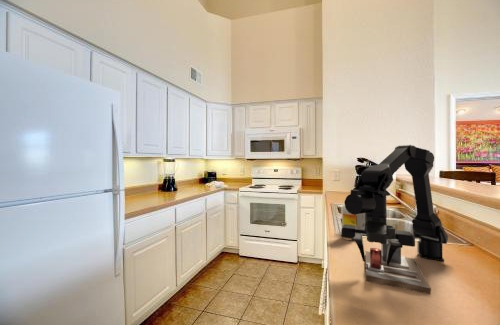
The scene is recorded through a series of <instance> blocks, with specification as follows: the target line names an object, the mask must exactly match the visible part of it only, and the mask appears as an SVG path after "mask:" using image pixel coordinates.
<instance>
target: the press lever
mask: <svg viewBox="0 0 500 325" xmlns="http://www.w3.org/2000/svg"><path fill="white" fill-rule="evenodd" d="M369 252H370V263H368V270H369V271H374V272H380V273H384V268H383V265H381V249H380V248H377V247H370V248H369Z"/></svg>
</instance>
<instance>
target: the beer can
mask: <svg viewBox="0 0 500 325" xmlns="http://www.w3.org/2000/svg"><path fill="white" fill-rule="evenodd" d="M344 224H347V225H356V215H354V214H351V213H349V212H348V211H347V209H346V208H345V204H343V205H342V207H341V227H342V226H343V225H344ZM342 239H343V240H345V241H349V240H351V238H345V237H342Z"/></svg>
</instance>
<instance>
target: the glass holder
mask: <svg viewBox="0 0 500 325" xmlns="http://www.w3.org/2000/svg"><path fill="white" fill-rule="evenodd" d="M356 229H363V230H365V213H362V214H356Z"/></svg>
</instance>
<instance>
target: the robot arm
mask: <svg viewBox="0 0 500 325" xmlns="http://www.w3.org/2000/svg"><path fill="white" fill-rule="evenodd" d="M434 161H435V156H434V154H433V152H431V151H430V150H428V149H424V148H421V147H417V146H415V145H412V144H406V145H405V144H403V145H402V144H401V145H398V146H395V148H394V150H393V151H392V152H391V153H390V154H389V155H387V156H386V157H385V158H383V160H381V161H380V163H378V164H376V165H373V166H372V165H371V166H369V167H367V168H365V169H364V170H362V172H361V175H360V177H359V178H358V181H357V183H356V185H355V187H354V188H353V189H351V190H350V194H348V195H347V196H346V198H345V200H344V205H345V208H346V209H347V211H348V212H349V213H351V214H354V215H356V214H362V213H365V230H363V229H356V225H347V224H344V225H343V226H342V225H341V233H340V236H341V237H342V238H343V237H345V238H351V240H352V241H351V242H355V244H356V245H357V249H359V253H360V255H361V258H362V262H365V263H366V256H365V247H364V241H363V237H366V241H367V242H369V243H377V244H380V245H381V244H386V243H387V239H389V240H388V249H387V258H386V261H387V266H389V263H390V261H391V258H392V256H393V254H394V252H395V251H396V249H398V248H401V249H403V246H405V247H406V246H407V247H411V248H414V247H416V239H415V238H417V239H419V240H418V241H417V247H416V248H417V253H418V254H419V256H420V257H421V258H423V259H428V260H437V261H440V262H441V261H442V262H444V261H445V258H444V257H443V244H444V245H447V244H448V241H449V238H448V237H449V236H448V234H447V232H446V230H445V229H444V227H443V224H442V220H441V219H440V218H439V217H438V215H436V213H435V211H434V205H433V204H434V203H433V196H432V190H431V189H432V188H431V182H430V172H431V171H432V170H433V168H434ZM402 166H404V169H405V171H406V172H408V174H410V176H411V178H412V180H411V181H412V186H413V193H414V200H415V206H416V215H415V217H414V218H412V220H411V223H412V231H413V234H412V232H410V231H408V230H399V229H396V226H395V225H391V224H390V225H387V224H388V223H387V197H388V196H390V195H391V192H389V191H388V188H389V187H390V186H391V184H392V183H393V181H394V177H393V176H394V174H395V173H396V172H397V171H399V169H401V167H402Z"/></svg>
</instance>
